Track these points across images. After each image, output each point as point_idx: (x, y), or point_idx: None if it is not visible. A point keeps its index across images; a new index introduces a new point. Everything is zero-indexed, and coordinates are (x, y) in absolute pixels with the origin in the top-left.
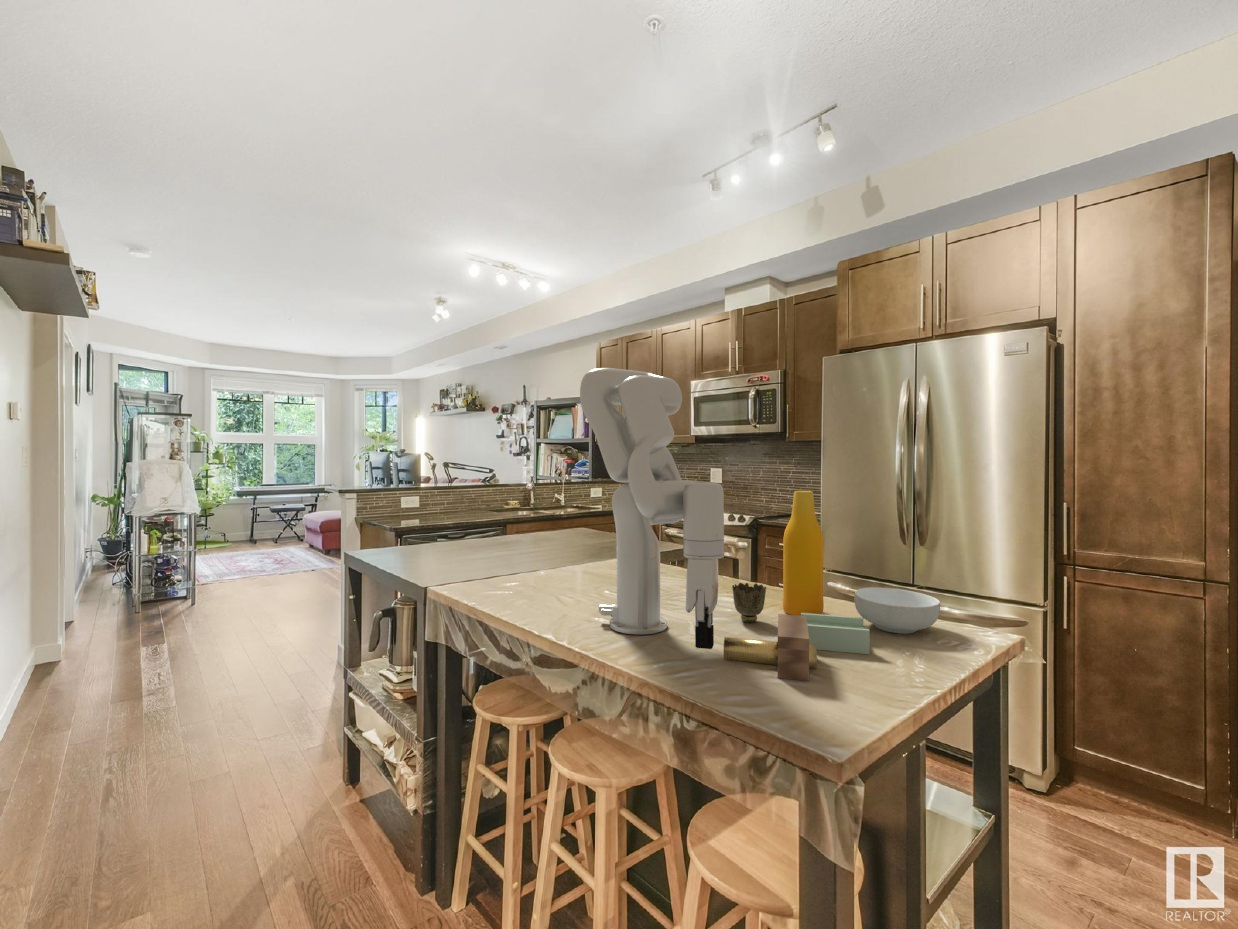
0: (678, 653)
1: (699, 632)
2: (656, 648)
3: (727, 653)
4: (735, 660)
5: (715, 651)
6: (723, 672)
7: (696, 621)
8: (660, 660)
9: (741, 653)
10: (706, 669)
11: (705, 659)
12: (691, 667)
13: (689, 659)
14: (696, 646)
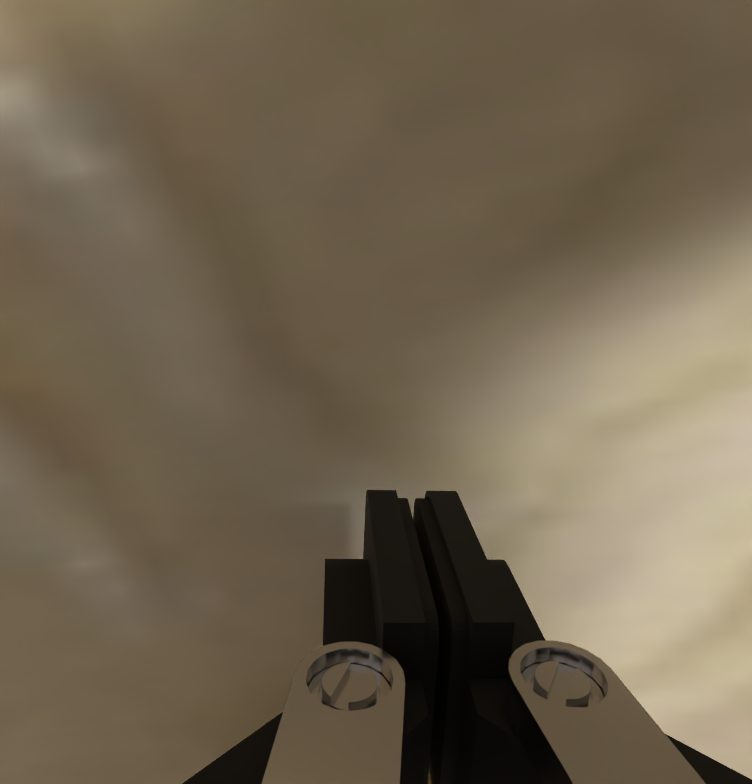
0: (427, 283)
1: (326, 638)
2: (533, 17)
3: None
4: None
5: (544, 585)
6: (87, 679)
7: (277, 738)
8: (179, 129)
9: None
10: (102, 562)
11: (330, 531)
12: (101, 445)
13: (292, 404)
14: (366, 500)
